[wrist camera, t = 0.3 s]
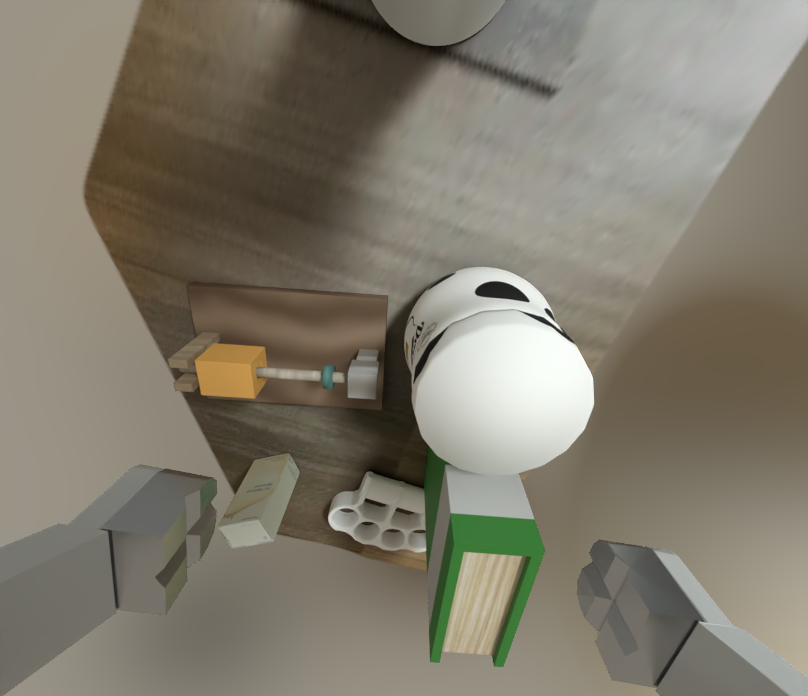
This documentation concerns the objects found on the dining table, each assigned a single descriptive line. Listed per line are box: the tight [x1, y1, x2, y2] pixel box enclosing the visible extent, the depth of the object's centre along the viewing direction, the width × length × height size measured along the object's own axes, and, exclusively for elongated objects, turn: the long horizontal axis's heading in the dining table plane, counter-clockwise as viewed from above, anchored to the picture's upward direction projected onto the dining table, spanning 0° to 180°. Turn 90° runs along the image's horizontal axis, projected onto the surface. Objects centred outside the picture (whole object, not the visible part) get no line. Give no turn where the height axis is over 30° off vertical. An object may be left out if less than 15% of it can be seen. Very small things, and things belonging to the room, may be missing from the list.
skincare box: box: [218, 453, 300, 548], centre depth 53 cm, size 6×4×12 cm
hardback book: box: [424, 446, 545, 667], centre depth 45 cm, size 18×7×24 cm, turn 175°
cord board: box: [168, 282, 388, 410], centre depth 46 cm, size 16×24×9 cm, turn 86°
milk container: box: [404, 267, 594, 475], centre depth 40 cm, size 17×17×18 cm
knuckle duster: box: [328, 471, 426, 553], centre depth 61 cm, size 3×18×15 cm
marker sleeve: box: [195, 343, 268, 399], centre depth 43 cm, size 4×6×4 cm
